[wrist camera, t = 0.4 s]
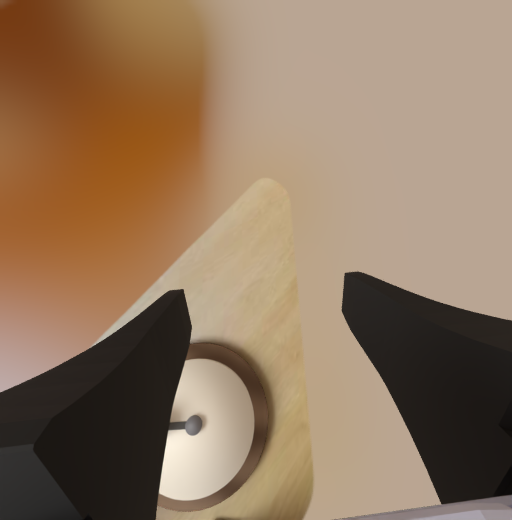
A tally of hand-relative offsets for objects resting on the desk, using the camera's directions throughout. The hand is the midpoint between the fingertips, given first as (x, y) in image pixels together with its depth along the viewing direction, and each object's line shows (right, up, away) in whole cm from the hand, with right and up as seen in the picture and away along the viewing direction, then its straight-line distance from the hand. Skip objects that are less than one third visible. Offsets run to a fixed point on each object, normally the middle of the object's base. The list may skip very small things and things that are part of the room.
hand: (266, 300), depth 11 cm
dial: (-8, -19, +21) cm, 29 cm away
